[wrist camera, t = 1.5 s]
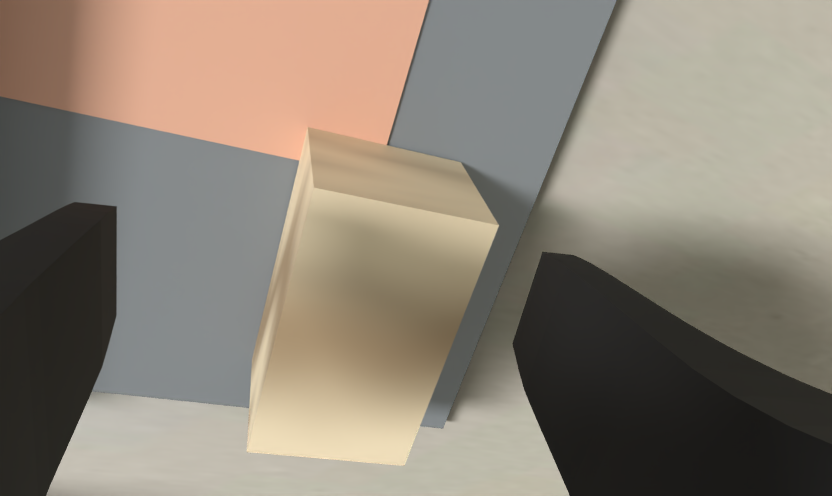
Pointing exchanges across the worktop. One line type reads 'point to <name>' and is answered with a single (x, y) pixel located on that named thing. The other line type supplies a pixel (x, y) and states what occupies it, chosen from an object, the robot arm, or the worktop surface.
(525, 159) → the board
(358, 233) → the maple bar
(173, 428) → the worktop surface
